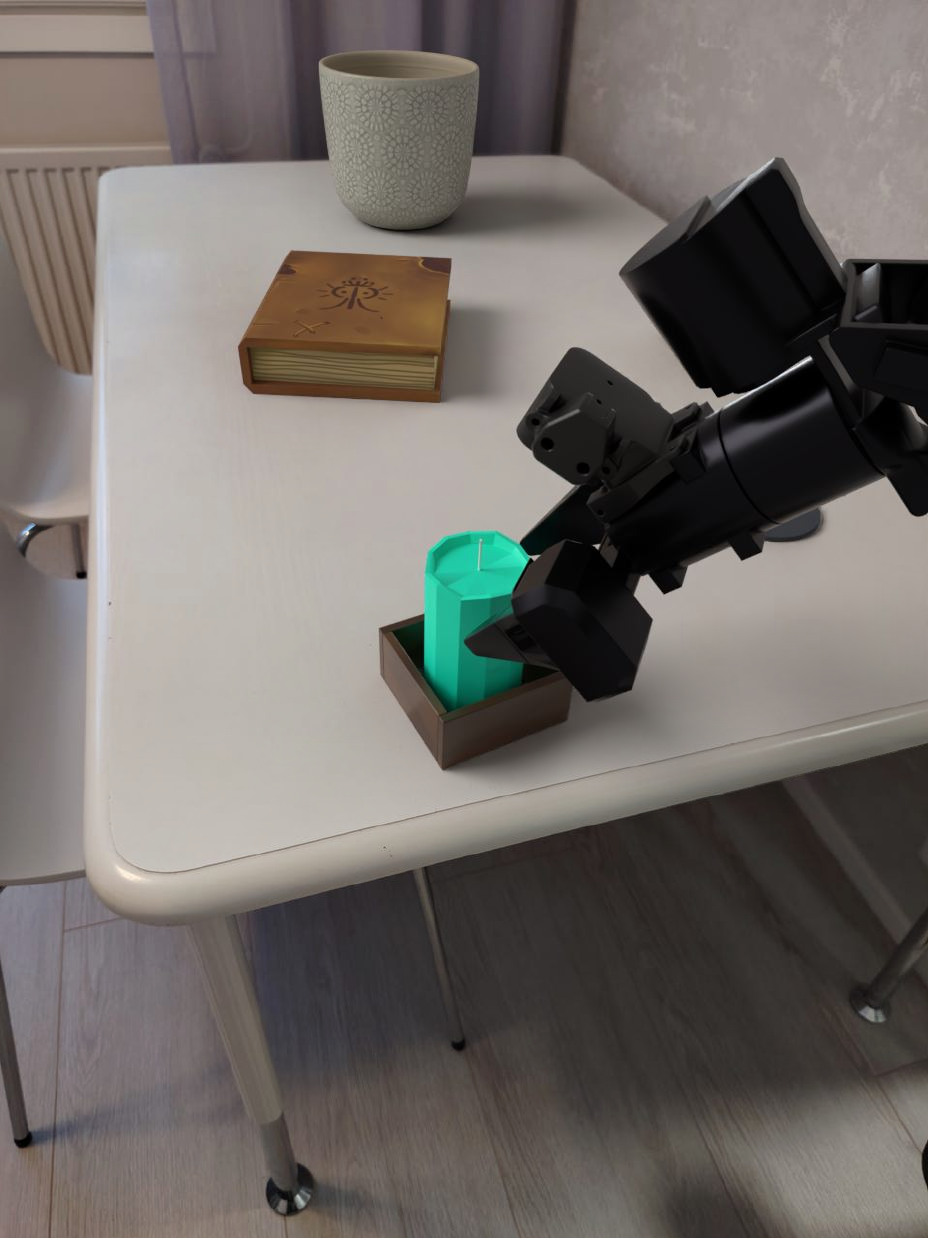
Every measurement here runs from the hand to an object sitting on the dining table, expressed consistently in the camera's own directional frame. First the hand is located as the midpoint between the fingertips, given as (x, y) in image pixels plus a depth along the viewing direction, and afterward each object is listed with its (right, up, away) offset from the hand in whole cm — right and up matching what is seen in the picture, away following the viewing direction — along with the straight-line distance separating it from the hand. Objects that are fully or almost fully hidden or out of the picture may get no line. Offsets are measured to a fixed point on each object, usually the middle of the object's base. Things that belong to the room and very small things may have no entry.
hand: (498, 594), depth 48 cm
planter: (-11, +56, +77) cm, 96 cm away
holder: (-1, -6, +6) cm, 9 cm away
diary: (-13, +27, +44) cm, 53 cm away
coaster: (+22, +8, +23) cm, 33 cm away
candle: (-1, -6, +6) cm, 9 cm away
